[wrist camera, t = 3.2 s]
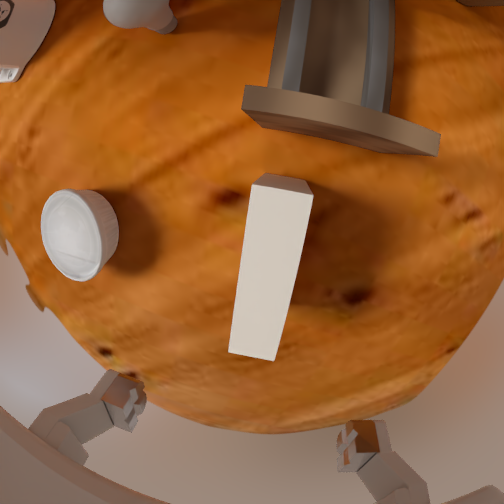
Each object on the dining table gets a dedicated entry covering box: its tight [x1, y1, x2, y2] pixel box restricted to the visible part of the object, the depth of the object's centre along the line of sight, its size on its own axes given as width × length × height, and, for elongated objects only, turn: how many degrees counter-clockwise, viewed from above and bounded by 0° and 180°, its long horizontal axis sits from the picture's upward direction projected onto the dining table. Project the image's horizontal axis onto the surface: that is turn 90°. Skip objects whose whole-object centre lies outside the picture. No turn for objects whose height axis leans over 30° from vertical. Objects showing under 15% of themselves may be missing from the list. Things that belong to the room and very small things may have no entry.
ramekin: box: [41, 189, 119, 281], centre depth 29 cm, size 11×11×5 cm
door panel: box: [228, 173, 314, 361], centre depth 25 cm, size 4×14×10 cm, turn 171°
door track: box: [241, 0, 441, 157], centre depth 15 cm, size 12×21×12 cm, turn 171°
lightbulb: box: [103, 0, 177, 34], centre depth 17 cm, size 6×6×11 cm
